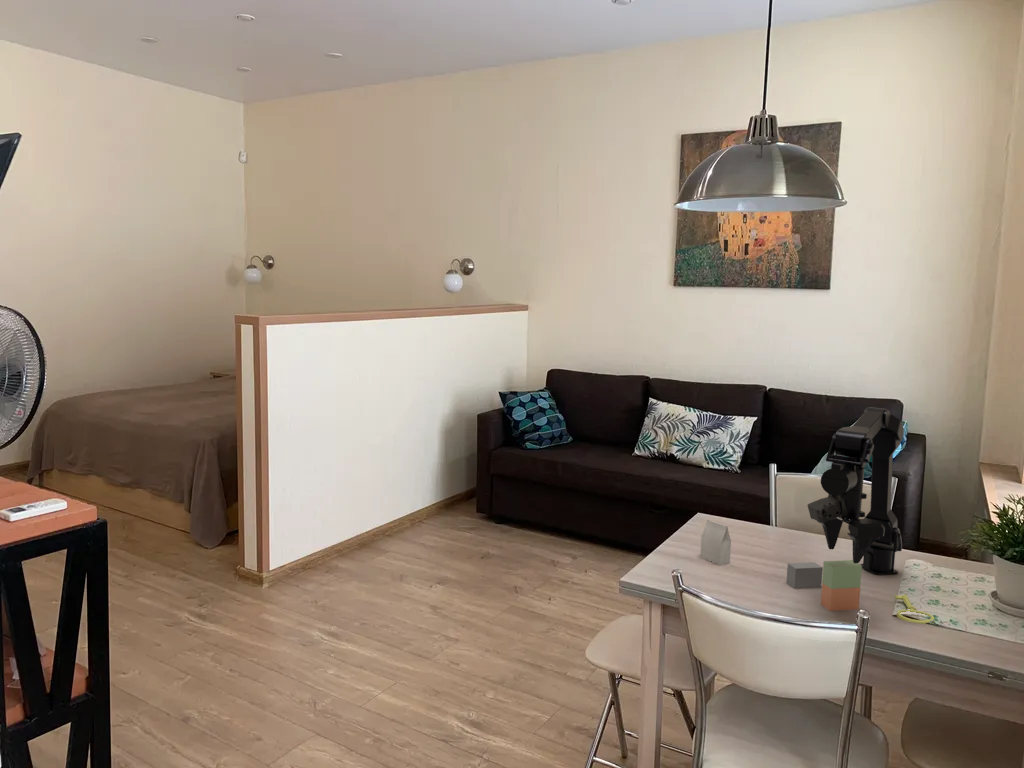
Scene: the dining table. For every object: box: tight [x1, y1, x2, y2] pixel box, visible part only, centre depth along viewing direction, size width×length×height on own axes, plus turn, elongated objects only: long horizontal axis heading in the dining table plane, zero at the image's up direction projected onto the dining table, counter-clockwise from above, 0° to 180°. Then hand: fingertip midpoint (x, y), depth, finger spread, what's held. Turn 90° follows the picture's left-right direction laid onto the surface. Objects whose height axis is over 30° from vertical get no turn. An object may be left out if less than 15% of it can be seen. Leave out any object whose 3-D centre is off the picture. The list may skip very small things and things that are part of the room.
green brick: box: [822, 559, 863, 589], centre depth 171 cm, size 7×4×5 cm, turn 100°
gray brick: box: [786, 561, 823, 589], centre depth 184 cm, size 7×4×5 cm, turn 100°
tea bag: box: [699, 519, 732, 566], centre depth 200 cm, size 4×7×10 cm, turn 32°
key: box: [894, 594, 935, 625], centre depth 170 cm, size 7×12×2 cm, turn 5°
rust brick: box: [820, 583, 861, 612], centre depth 172 cm, size 7×4×5 cm, turn 100°
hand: (843, 555), depth 170 cm, fingers open, 9 cm apart
